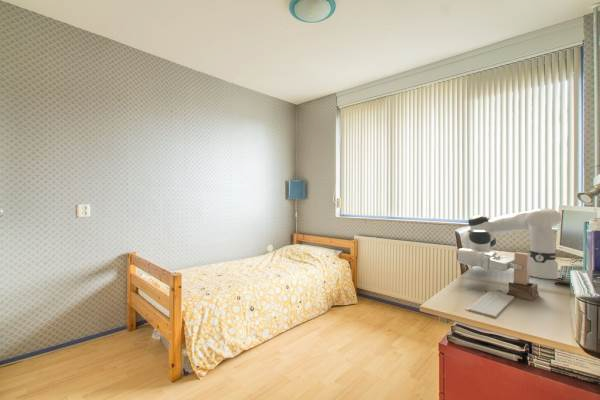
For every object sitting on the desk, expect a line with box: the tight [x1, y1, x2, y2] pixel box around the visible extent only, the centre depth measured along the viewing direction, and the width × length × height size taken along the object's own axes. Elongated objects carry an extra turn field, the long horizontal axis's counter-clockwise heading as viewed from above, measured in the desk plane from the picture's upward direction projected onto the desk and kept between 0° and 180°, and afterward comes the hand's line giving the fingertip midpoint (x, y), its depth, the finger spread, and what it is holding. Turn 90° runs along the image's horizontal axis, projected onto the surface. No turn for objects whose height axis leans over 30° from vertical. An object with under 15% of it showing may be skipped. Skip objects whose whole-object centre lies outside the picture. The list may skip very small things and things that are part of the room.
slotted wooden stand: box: [506, 280, 539, 302], centre depth 138 cm, size 13×9×6 cm
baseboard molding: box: [465, 288, 515, 319], centre depth 128 cm, size 31×3×12 cm
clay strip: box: [513, 251, 530, 285], centre depth 138 cm, size 4×5×14 cm
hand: (524, 266), depth 138 cm, fingers closed on clay strip, 4 cm apart
